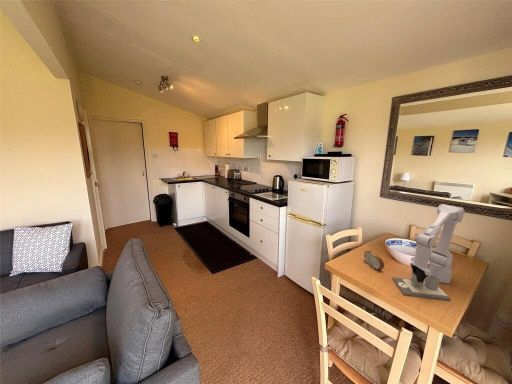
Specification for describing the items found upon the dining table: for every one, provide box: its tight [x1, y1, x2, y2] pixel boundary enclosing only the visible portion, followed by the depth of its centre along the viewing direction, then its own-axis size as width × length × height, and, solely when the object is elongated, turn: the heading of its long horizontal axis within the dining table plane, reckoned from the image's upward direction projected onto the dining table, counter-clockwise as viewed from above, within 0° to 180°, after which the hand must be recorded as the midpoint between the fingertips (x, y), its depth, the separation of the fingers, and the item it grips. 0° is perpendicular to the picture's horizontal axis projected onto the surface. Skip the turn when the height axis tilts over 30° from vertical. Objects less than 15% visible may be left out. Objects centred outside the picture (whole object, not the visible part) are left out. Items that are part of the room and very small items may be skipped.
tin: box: [363, 250, 385, 271], centre depth 136 cm, size 15×3×8 cm, turn 10°
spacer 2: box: [424, 275, 440, 290], centre depth 113 cm, size 4×4×6 cm
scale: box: [391, 276, 451, 302], centre depth 115 cm, size 21×14×2 cm, turn 79°
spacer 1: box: [410, 271, 425, 287], centre depth 114 cm, size 4×4×6 cm
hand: (417, 279), depth 114 cm, fingers closed on spacer 1, 4 cm apart
